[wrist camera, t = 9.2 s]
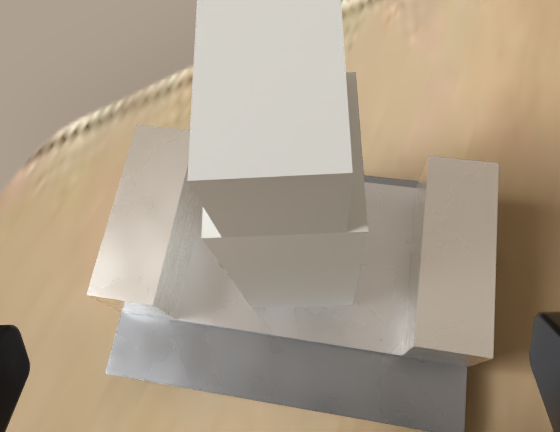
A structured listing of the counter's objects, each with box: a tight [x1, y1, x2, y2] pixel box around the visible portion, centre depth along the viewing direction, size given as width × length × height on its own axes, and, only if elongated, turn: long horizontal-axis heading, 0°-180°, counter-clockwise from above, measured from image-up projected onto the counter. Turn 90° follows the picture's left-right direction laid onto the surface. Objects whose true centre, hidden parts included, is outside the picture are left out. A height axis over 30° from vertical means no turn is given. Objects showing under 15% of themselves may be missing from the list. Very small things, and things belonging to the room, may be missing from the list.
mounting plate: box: [87, 125, 499, 432], centre depth 21 cm, size 10×14×4 cm
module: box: [187, 0, 368, 308], centre depth 16 cm, size 5×4×12 cm
